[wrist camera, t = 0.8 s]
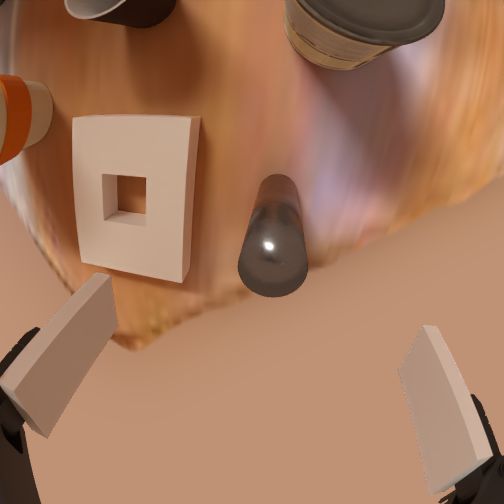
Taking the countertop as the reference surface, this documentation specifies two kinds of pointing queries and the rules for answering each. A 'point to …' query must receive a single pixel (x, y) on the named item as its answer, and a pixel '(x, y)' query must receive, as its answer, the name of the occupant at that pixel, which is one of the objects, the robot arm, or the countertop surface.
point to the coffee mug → (122, 11)
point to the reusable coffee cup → (22, 114)
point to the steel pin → (274, 241)
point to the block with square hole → (157, 191)
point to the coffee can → (357, 28)
